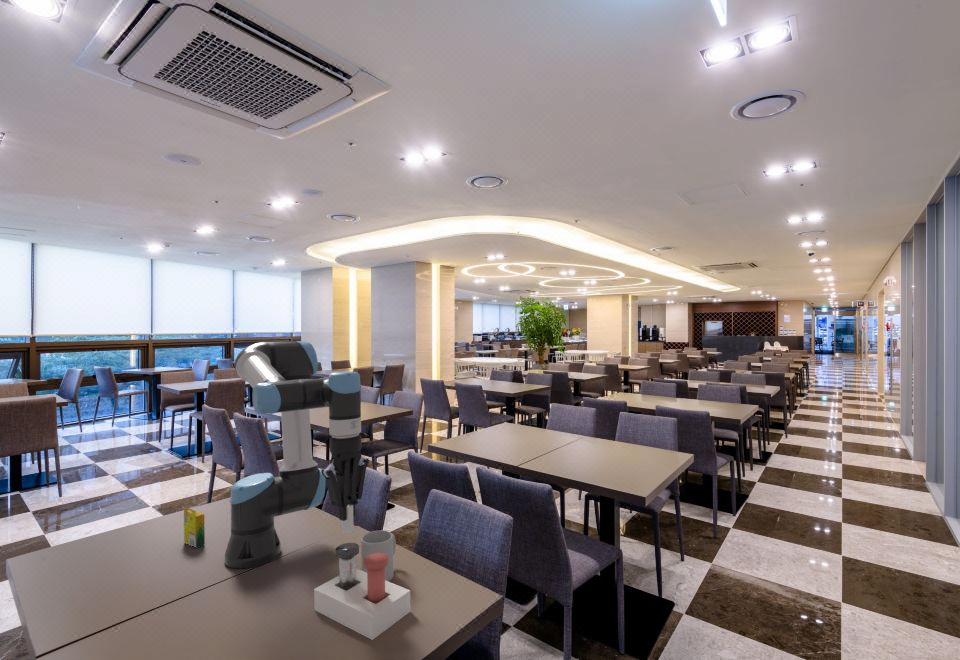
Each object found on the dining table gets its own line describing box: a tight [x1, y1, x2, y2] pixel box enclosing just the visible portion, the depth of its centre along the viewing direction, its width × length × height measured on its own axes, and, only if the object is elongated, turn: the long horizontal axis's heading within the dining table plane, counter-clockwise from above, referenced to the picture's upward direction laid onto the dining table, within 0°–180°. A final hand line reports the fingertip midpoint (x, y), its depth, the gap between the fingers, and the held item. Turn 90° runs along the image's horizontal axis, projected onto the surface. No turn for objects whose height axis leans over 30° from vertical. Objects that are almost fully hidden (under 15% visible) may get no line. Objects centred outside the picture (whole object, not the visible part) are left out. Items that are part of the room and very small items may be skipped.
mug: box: [360, 529, 397, 582], centre depth 126 cm, size 12×8×11 cm
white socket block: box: [313, 568, 412, 641], centre depth 109 cm, size 20×12×5 cm, turn 56°
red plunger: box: [364, 553, 388, 603], centre depth 106 cm, size 6×6×9 cm
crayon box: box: [183, 506, 206, 548], centre depth 146 cm, size 7×3×12 cm, turn 58°
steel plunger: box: [334, 542, 360, 590], centre depth 112 cm, size 6×6×9 cm
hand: (347, 531), depth 112 cm, fingers closed
